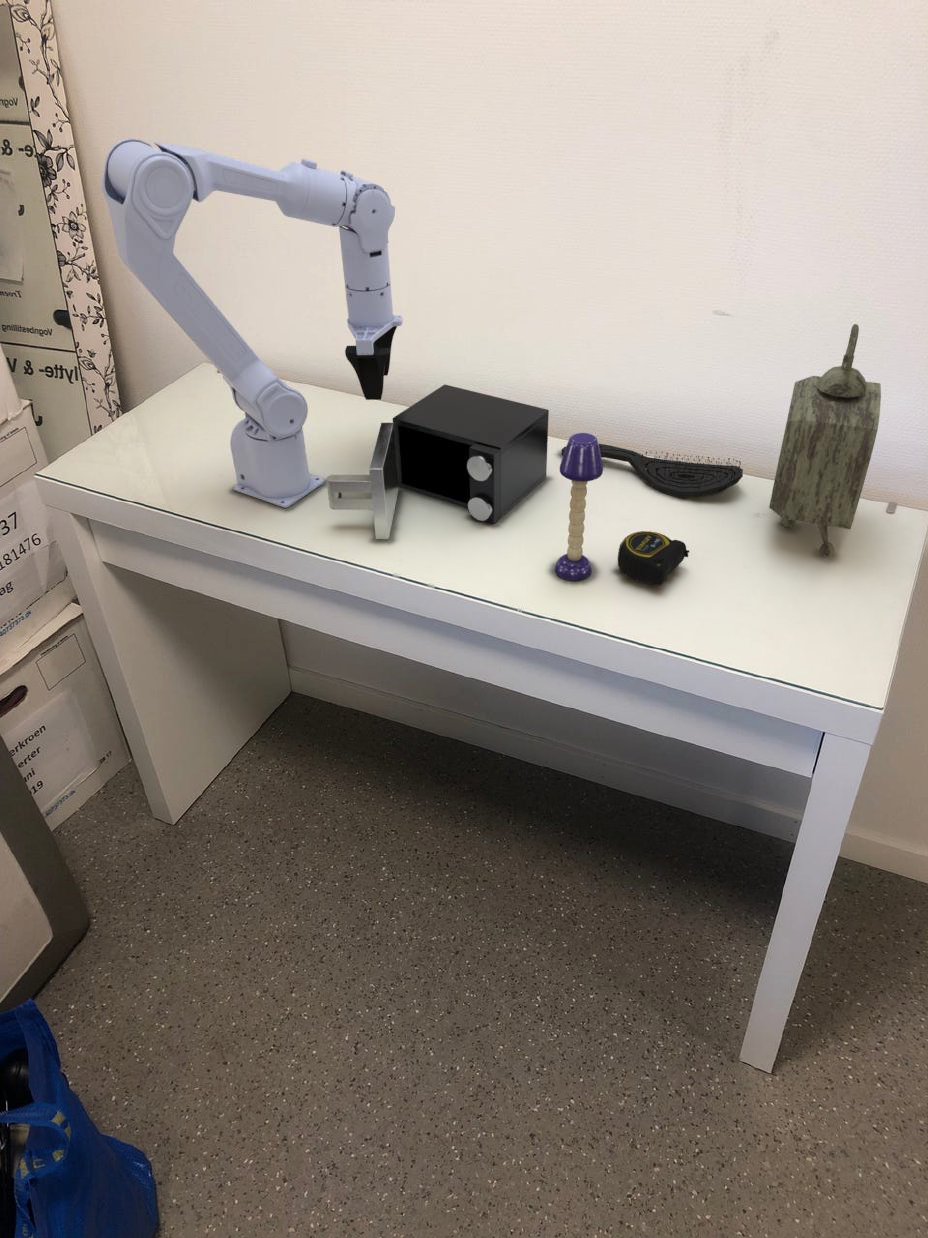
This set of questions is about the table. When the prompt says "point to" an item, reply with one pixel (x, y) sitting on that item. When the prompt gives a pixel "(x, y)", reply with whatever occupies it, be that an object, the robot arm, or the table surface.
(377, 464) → the microwave door
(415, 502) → the table surface
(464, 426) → the microwave
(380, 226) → the robot arm
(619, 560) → the tape measure
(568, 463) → the toy lamp
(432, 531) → the table surface
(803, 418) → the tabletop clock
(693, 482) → the hairbrush
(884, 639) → the table surface
